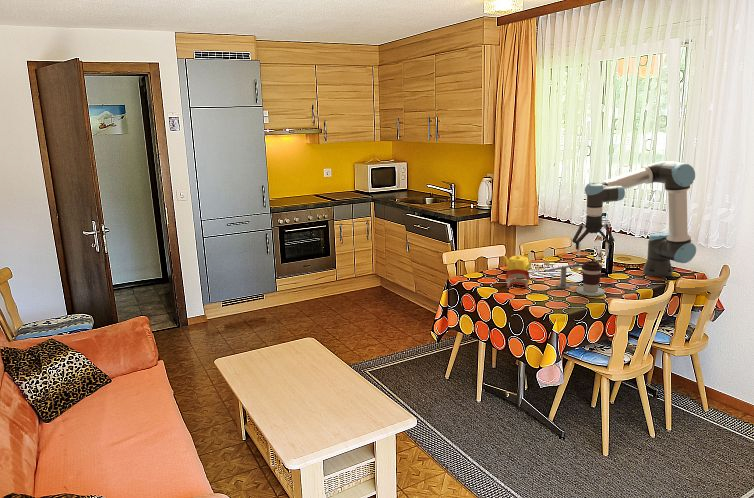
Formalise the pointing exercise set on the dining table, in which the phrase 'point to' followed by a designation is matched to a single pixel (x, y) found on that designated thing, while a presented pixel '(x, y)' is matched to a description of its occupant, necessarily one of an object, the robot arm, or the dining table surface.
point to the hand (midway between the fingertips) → (592, 255)
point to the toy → (516, 274)
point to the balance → (563, 273)
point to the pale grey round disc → (599, 292)
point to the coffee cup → (591, 276)
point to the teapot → (518, 263)
